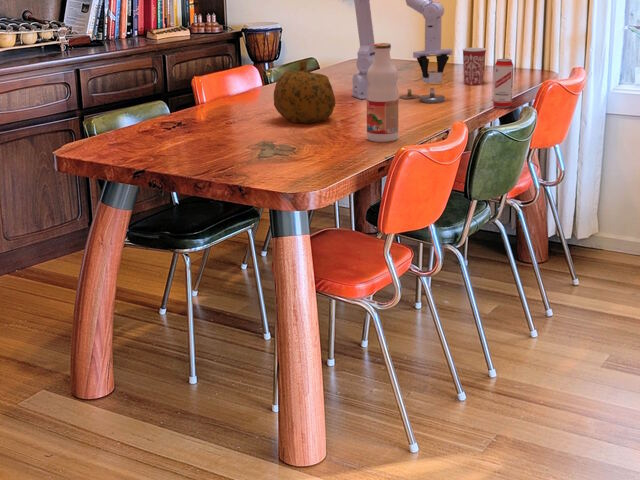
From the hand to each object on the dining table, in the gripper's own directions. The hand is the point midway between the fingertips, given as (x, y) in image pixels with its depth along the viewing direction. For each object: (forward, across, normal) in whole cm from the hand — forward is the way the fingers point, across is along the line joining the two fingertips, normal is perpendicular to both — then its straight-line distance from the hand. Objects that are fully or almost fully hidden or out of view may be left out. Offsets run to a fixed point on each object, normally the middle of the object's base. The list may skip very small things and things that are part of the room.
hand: (432, 76), depth 325 cm
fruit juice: (+9, -41, -46) cm, 62 cm away
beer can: (+9, +16, -21) cm, 28 cm away
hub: (+9, 0, 0) cm, 9 cm away
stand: (+9, -4, +10) cm, 14 cm away
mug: (+9, +32, +25) cm, 42 cm away
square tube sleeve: (+2, 0, 0) cm, 2 cm away
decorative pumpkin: (+9, -52, -10) cm, 54 cm away
